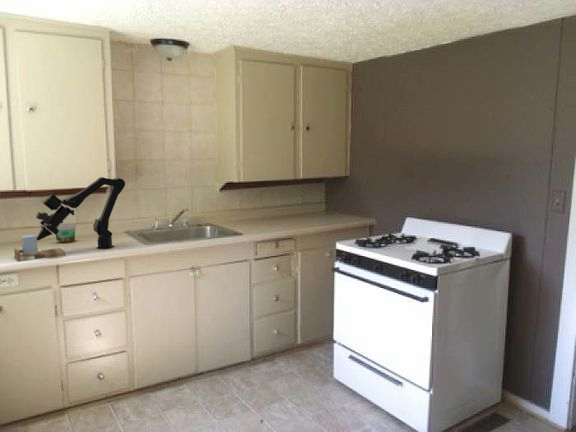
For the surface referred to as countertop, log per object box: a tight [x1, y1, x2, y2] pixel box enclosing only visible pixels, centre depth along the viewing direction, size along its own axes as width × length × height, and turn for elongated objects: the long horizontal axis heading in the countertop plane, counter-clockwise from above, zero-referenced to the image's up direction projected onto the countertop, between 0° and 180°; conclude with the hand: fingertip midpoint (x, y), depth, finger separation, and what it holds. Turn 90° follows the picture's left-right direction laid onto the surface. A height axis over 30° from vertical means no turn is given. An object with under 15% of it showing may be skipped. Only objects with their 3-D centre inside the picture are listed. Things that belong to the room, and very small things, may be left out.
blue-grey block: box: [21, 234, 39, 255], centre depth 233 cm, size 6×5×9 cm
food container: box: [55, 224, 77, 244], centre depth 269 cm, size 12×6×10 cm, turn 126°
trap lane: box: [14, 247, 66, 262], centre depth 236 cm, size 21×12×4 cm, turn 127°
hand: (36, 240), depth 235 cm, fingers closed
